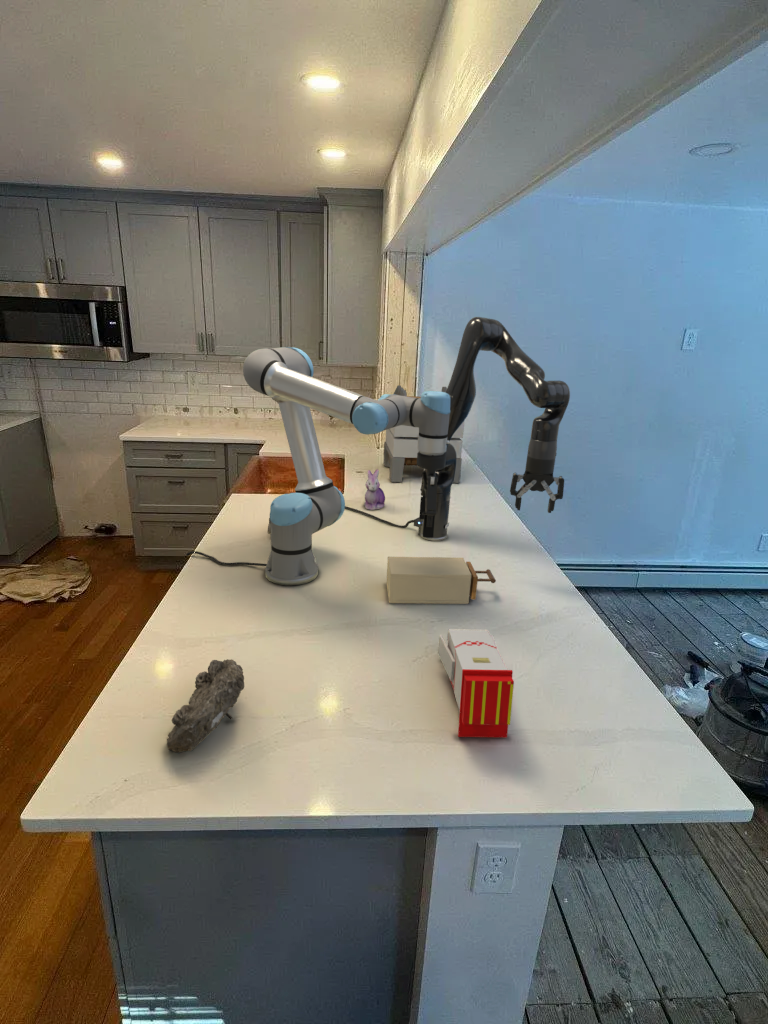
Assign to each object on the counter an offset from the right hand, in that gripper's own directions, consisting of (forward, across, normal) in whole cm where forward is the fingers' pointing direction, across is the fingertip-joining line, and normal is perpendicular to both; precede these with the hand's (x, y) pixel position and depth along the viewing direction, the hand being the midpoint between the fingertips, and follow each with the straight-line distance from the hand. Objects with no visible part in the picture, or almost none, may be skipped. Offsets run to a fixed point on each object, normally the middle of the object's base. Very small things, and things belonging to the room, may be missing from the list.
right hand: (533, 510), depth 160 cm
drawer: (+22, +23, +12) cm, 34 cm away
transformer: (+22, +40, -110) cm, 119 cm away
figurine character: (+23, +81, -20) cm, 86 cm away
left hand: (+4, +30, +10) cm, 32 cm away
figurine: (+23, +54, -55) cm, 80 cm away
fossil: (+23, +65, +72) cm, 100 cm away
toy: (+23, +16, +55) cm, 61 cm away
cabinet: (+23, +28, +13) cm, 38 cm away
